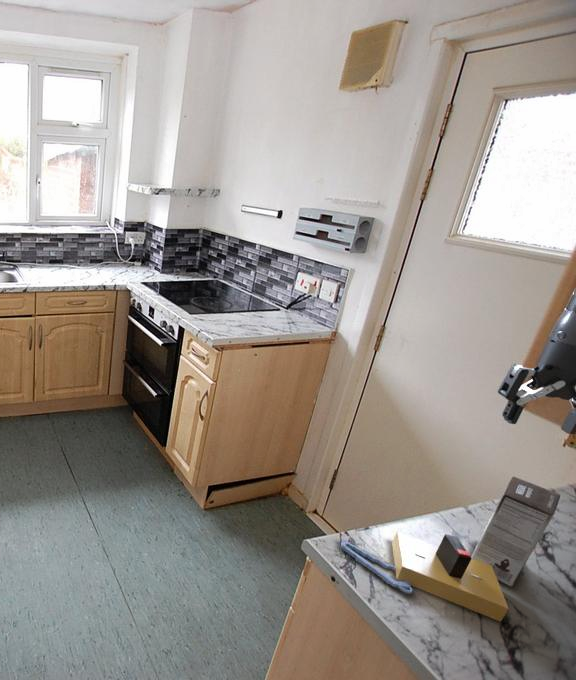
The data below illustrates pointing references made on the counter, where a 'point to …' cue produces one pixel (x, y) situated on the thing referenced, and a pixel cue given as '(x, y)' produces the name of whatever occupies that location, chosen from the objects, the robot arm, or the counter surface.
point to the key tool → (398, 584)
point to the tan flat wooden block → (448, 577)
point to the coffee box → (515, 528)
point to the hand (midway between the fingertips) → (537, 426)
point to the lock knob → (453, 556)
